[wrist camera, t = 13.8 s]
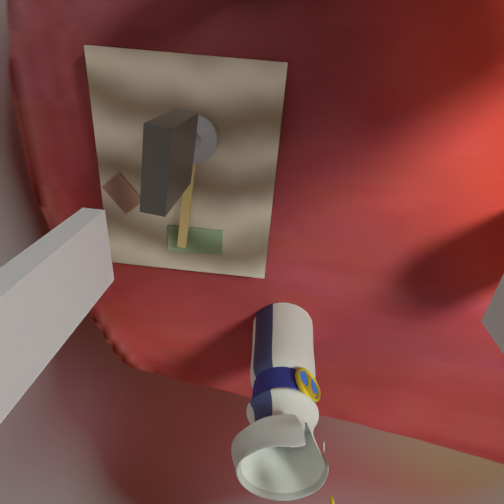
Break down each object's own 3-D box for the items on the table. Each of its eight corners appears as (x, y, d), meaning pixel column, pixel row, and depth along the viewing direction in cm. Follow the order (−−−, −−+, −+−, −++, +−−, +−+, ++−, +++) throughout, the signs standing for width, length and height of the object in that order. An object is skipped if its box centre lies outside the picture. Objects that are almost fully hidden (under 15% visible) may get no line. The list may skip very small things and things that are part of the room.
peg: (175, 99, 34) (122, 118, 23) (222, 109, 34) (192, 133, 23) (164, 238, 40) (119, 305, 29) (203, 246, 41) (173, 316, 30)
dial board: (94, 45, 34) (82, 44, 32) (287, 62, 34) (287, 62, 32) (116, 253, 44) (108, 262, 42) (265, 269, 44) (264, 279, 42)
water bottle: (284, 286, 45) (285, 508, 23) (328, 329, 47) (367, 567, 25) (236, 321, 48) (195, 546, 26) (280, 359, 50) (276, 595, 28)
